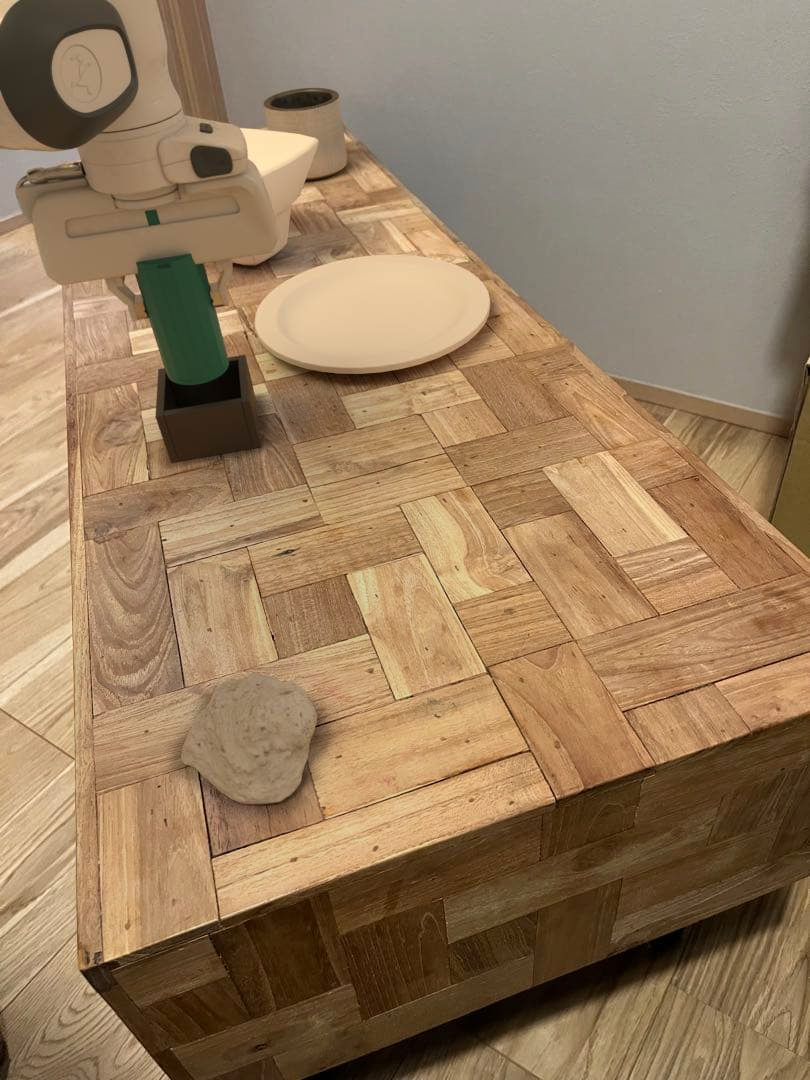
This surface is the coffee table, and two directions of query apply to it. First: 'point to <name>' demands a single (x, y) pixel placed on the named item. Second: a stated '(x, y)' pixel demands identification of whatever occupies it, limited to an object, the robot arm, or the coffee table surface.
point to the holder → (208, 414)
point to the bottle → (182, 316)
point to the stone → (253, 738)
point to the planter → (311, 125)
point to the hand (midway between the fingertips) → (182, 310)
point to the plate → (372, 314)
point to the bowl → (279, 175)
